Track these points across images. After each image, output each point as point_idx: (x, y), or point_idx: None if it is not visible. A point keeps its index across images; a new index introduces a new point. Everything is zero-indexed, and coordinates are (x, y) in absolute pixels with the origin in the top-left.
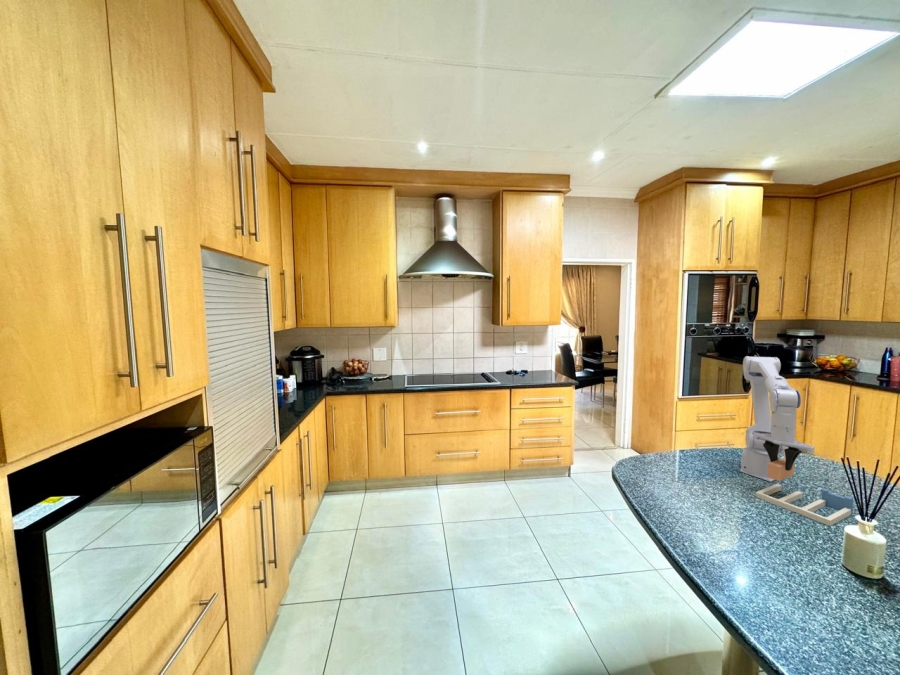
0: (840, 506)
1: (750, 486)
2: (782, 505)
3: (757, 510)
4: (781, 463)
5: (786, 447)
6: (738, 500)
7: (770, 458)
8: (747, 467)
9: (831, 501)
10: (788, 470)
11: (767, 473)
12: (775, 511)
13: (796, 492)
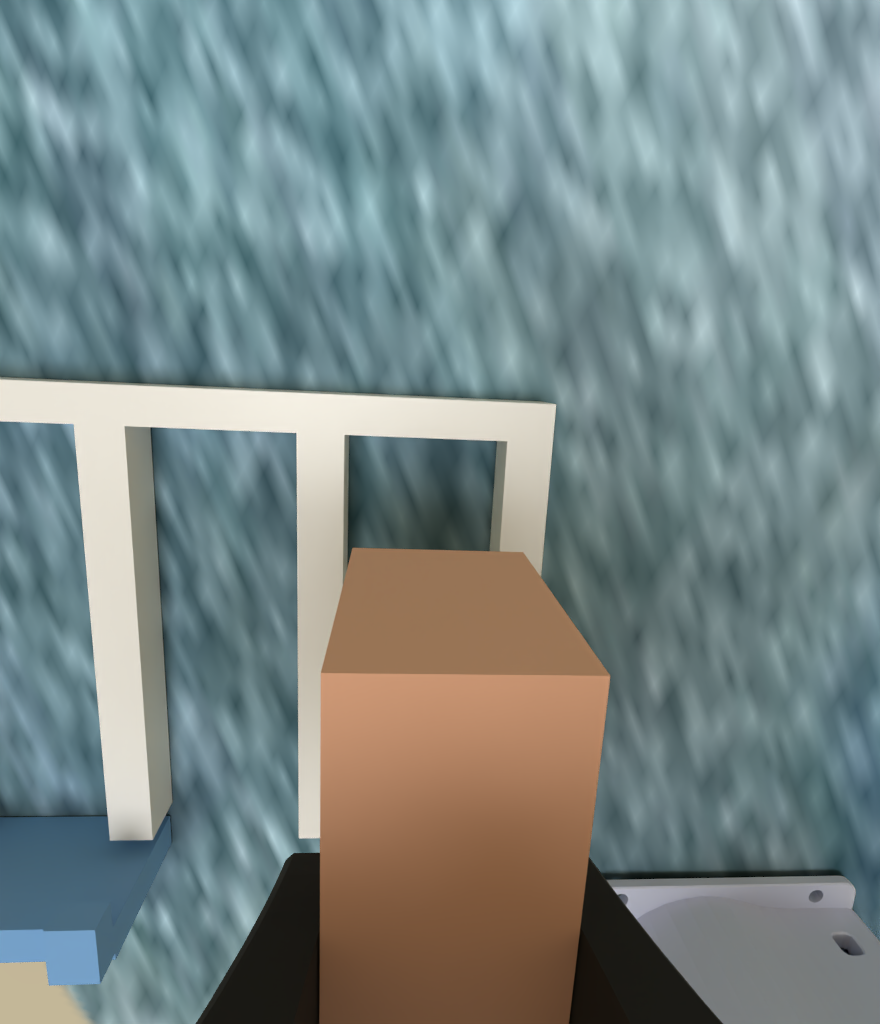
0: (10, 845)
1: (664, 623)
2: (291, 391)
3: (391, 39)
4: (414, 964)
5: None
6: (609, 119)
7: (668, 981)
8: (830, 953)
9: (68, 858)
10: (286, 867)
11: (537, 574)
12: (286, 214)
13: None
